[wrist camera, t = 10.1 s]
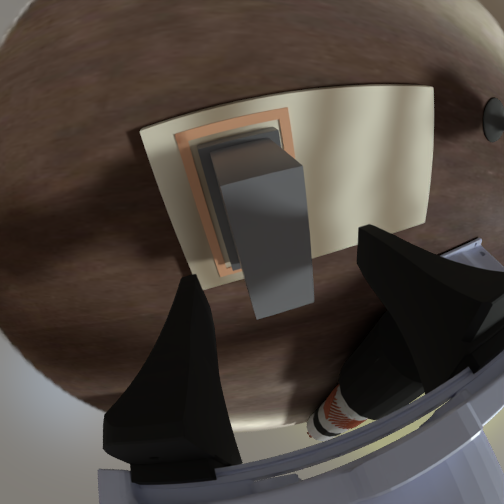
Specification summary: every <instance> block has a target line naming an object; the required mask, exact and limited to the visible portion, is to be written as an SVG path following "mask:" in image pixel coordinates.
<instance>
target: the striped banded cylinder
mask: <svg viewBox="0 0 504 504" xmlns="http://www.w3.org/2000/svg"><path fill="white" fill-rule="evenodd" d="M423 393H424V388H423V385H422V382H421V379H420V376H419V373H418V370H417V367H416V365H415V362H414V360H413V357H412V355H411V352H410V350H409V348H408V346H407V344H406V341H405V339H404V337H403V335H402V333H401V331H400V329H399V328H398V326H397V324H396V322H395V320H394V319H393V317H392V316H391V314H390V313H389V311H387V312H385V313H384V314H383V316H382V317H381V318H380V320H379V321H378V322H377V324H376V325H375V326H374V328H373V329H372V330H371V332H370V333H369V334H368V335H367V337H366V338H365V339H364V340H363V342H362V343H361V344H360V345H359V347H358V348H357V349H356V350H355V352H354V353H353V354H352V355H351V356H350V358H349V359H348V360H347V361H346V362H345V364H344V366H343V368H342V370H341V372H340V377H339V384H338V385H337V386H336V387H335V388H334V390H333V391H332V392H331V394H330V395H329V397H327V400H326V401H325V402H324V403H323V404H322V405H321V406H320V407H319V408H318V409H317V410H316V412H315V413H313V414H312V415H311V417H310V418H309V419H308V421H307V430H308V432H307V434H310V435H309V437H313V438H314V439H316V440H320V441H324V440H329V439H331V438H333V437H334V436H336V435H339V434H341V433H342V432H345V431H347V430H349V429H350V428H351V429H352V428H354V427H356V426H358V425H359V424H361V423H362V422H364V421H366V420H367V419H372V420H378V419H380V418H382V417H384V416H387V415H389V414H391V413H393V412H395V411H397V410H398V409H400V408H402V407H404V406H406V405H408V404H409V403H411V402H412V401H413V400H415V399H416V398H417V397H419V396H420V395H422V394H423Z"/></svg>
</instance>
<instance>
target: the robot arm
mask: <svg viewBox="0 0 504 504" xmlns="http://www.w3.org/2000/svg"><path fill="white" fill-rule="evenodd" d="M481 242H482V239H481V238H477V239H475V240H473V241H471V242H469V243H467V244H465V245H462V246H460V247H458V248H456V249H454V250H451V251H449V252H447V253H445V254H442V255H440V256H438V255H436V254H433V253H431V252H429V251H426V250H424V249H422V248H420V247H417V246H415V245H413V244H411V243H409V242H407V241H405V240H403V239H401V238H399V237H397V236H395V235H393V234H391V233H389V232H387V231H385V230H383V229H380V228H378V227H376V226H374V225H371V224H368V225H364V226H361V227H358V248H357V264H358V266H359V268H360V270H361V272H362V274H363V276H364V277H365V279H366V281H367V282H368V284H369V285H370V286H371V288H372V289H373V290H374V292H375V293H376V295H377V296H378V297H379V299H380V300H381V302H382V303H383V304H384V306H385V307H386V308H387V310H388V311H389V313H390V314H391V316H392V317H393V319H394V320H395V322H396V324H397V326H398V328H399V329H400V331H401V333H402V335H403V337H404V339H405V341H406V344H407V346H408V348H409V350H410V352H411V355H412V357H413V360H414V362H415V365H416V367H417V370H418V373H419V376H420V379H421V382H422V385H423V388H424V392H425V395H424V396H422V397H420V398H419V399H417V400H415V401H413V402H412V403H410V404H408V405H406V406H404V407H402V408H400V409H398V410H397V411H395V412H393V413H391V414H389V415H387V416H384V417H382V418H380V419H378V420H376V421H374V422H372V423H369V424H367V425H365V426H363V427H360V428H358V429H356V430H353V431H351V432H348V433H346V434H343V435H341V436H338V437H336V438H333V439H330V440H327V441H325V442H322V443H319V444H316V445H313V446H310V447H306V448H304V449H300V450H297V451H293V452H290V453H287V454H283V455H279V456H275V457H271V458H267V459H263V460H259V461H255V462H249V463H245V464H242V460H241V457H240V453H239V450H238V447H237V444H236V441H235V437H234V434H233V430H232V427H231V423H230V420H229V416H228V412H227V408H226V404H225V400H224V396H223V391H222V387H221V382H220V376H219V369H218V359H217V349H216V338H215V328H214V323H213V318H212V313H211V309H210V305H209V303H208V301H207V298H206V296H205V294H204V291H203V289H202V287H201V284H200V282H199V279H198V277H197V275H196V274H193V275H189V276H185V277H182V278H181V280H180V283H179V287H178V290H177V293H176V296H175V299H174V301H173V304H172V307H171V309H170V312H169V315H168V317H167V320H166V322H165V324H164V327H163V329H162V331H161V334H160V336H159V338H158V340H157V342H156V344H155V346H154V348H153V350H152V351H151V353H150V355H149V357H148V358H147V360H146V362H145V363H144V365H143V367H142V368H141V370H140V371H139V373H138V375H137V376H136V377H135V379H134V380H133V381H132V383H131V384H130V386H129V387H128V388H127V390H126V391H125V392H124V393H123V395H122V396H121V397H120V398H119V399H118V400H117V401H116V403H115V404H114V405H113V406H112V407H111V408H110V409H109V410H108V411H107V412H106V414H105V415H104V423H103V449H104V450H105V452H106V453H107V454H109V455H111V456H113V457H115V458H117V459H120V460H122V461H124V462H126V463H129V464H130V468H131V471H128V470H114V469H99V470H98V491H99V504H504V474H503V471H502V469H501V467H500V464H499V462H498V460H497V458H496V456H495V454H494V451H493V449H492V447H491V445H490V443H489V442H488V439H487V437H486V435H485V433H484V431H483V426H484V425H485V424H486V423H487V422H488V421H490V420H491V418H493V417H494V416H495V415H496V414H497V413H498V412H499V411H500V410H501V409H502V408H503V407H504V267H503V266H502V265H501V264H500V263H499V262H498V261H497V260H496V259H495V258H494V257H493V256H492V255H491V254H490V253H489V252H487V251H486V250H485V249H484V248H483V247H482V246H481ZM448 400H449V401H448ZM447 401H448V402H447ZM445 402H447V403H445ZM444 403H445V404H444ZM442 404H444V405H443V406H441V405H442ZM439 406H441V407H440V408H439V409H437V410H436V411H435V412H434V414H433V415H432V416H431V417H430V418H429V419H428V420H427V421H426V422H424V423H423V424H422V425H421V426H420V427H419V428H418V429H417V430H415V431H413V432H411V433H409V434H407V435H406V436H404V437H402V438H400V439H398V440H396V441H394V442H392V443H390V444H389V445H386V446H384V447H382V448H380V449H378V450H376V451H374V452H372V453H370V454H368V455H366V456H363V457H361V458H359V459H357V460H355V461H352V462H350V463H348V464H345V465H343V466H340V467H338V468H335V469H333V470H331V471H328V472H325V473H323V474H320V475H317V476H314V477H311V478H308V479H305V480H301V479H300V478H298V475H297V474H291V475H285V476H280V477H275V476H279V475H283V474H287V473H290V472H294V471H298V470H301V469H304V468H308V467H311V466H314V465H317V464H320V463H323V462H326V461H328V460H331V459H334V458H337V457H340V456H342V455H345V454H347V453H350V452H352V451H355V450H357V449H359V448H362V447H364V446H366V445H369V444H371V443H373V442H375V441H377V440H380V439H382V438H384V437H386V436H388V435H390V434H392V433H394V432H396V431H398V430H400V429H402V428H403V427H405V426H407V425H409V424H411V423H413V422H414V421H416V420H418V419H420V418H421V417H423V416H425V415H426V414H428V413H430V412H431V411H433V410H435V409H436V408H438V407H439ZM271 477H274V478H271ZM267 478H268V479H267ZM262 479H263V480H262Z"/></svg>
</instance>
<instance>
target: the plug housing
mask: <svg viewBox="0 0 504 504" xmlns="http://www.w3.org/2000/svg"><path fill="white" fill-rule="evenodd" d="M210 155H211V159H212V163H213V167H214V170H215V174H216V178H217V182H218V185H219V189H220V193H221V197H222V200H223V204H224V208H225V211H226V215H227V219H228V222H229V226H230V230H231V233H232V237H233V241H234V244H235V248H236V252H237V255H238V259H239V262H240V266H241V269H242V272H243V276H244V279H245V282H246V286H247V289H248V292H249V296H250V299H251V302H252V306H253V309H254V312H255V315H256V319H257V320H258V319H261V318H264V317H268V316H271V315H275V314H278V313H281V312H284V311H288V310H291V309H294V308H297V307H300V306H303V305H306V304H310V303H313V302H314V287H313V270H312V255H311V242H310V230H309V218H308V208H307V197H306V188H305V179H304V170H303V165H301V164H300V163H299V162H298V161H297V160H295V159H294V158H293V157H292V156H291V155H289V154H288V153H287V152H286V151H284V150H283V149H282V148H281V147H280V146H278V145H277V144H276V143H275V142H273V141H272V140H271V139H269V138H265V139H260V140H256V141H251V142H247V143H243V144H239V145H235V146H231V147H227V148H223V149H219V150H215V151H212V152H210Z"/></svg>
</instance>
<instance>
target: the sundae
mask: <svg viewBox="0 0 504 504" xmlns="http://www.w3.org/2000/svg"><path fill="white" fill-rule="evenodd" d="M483 126H484V132H485V135H486V137H487V139H488V140H489V141H490V142H495V141H497V140H498V139H499V138H500V137H501V135H502V133H503V131H504V108H503V105H502V103H501V102H500V100H498V99H497V98H492V99H491V100H490V101H489V102H488V103H487V105H486V108H485V111H484V117H483Z"/></svg>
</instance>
